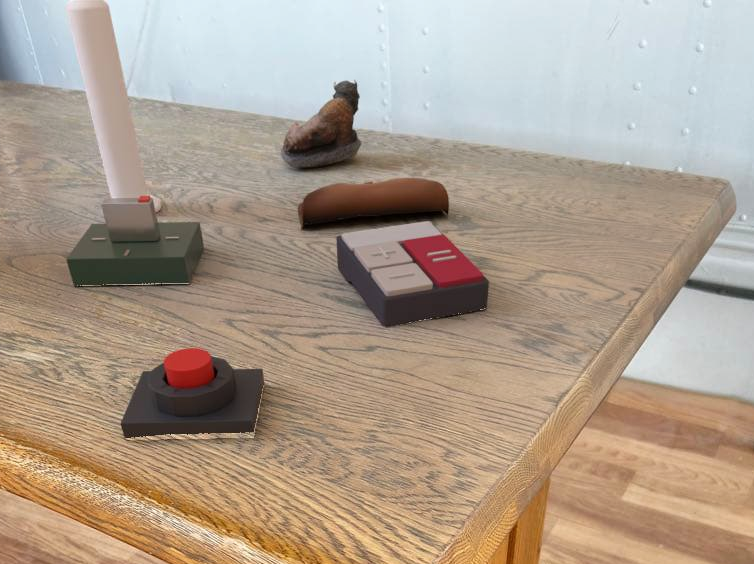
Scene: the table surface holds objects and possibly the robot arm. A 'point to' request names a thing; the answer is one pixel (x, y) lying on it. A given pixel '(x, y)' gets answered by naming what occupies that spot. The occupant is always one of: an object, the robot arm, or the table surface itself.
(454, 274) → the calculator
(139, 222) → the block knob
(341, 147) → the animal figurine
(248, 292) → the table surface
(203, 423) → the button box
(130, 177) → the candle
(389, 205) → the sunglasses case
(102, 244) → the panel
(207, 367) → the red button
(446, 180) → the table surface
